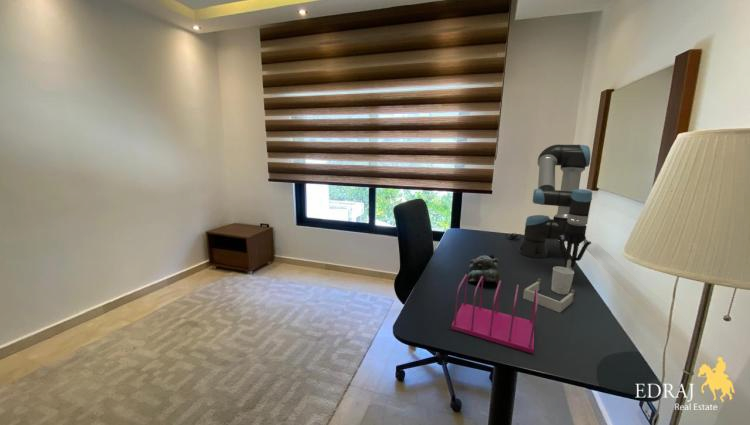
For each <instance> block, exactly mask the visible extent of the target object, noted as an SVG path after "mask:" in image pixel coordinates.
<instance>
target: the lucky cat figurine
mask: <svg viewBox="0 0 750 425" xmlns="http://www.w3.org/2000/svg"><path fill="white" fill-rule="evenodd" d="M499 263H500V262H499V259H498V258H495V256H494V254H490V255H476V256H475V258H473V259H471V260H469V272H468V273H467V274H468V282H469V283H471V282H472V283H473V282H479V280H480V278H481V276H483V282H486V283H487V282H489V283H495V284H496V283H499V281H500V274H499ZM481 282H482V280H481Z"/></svg>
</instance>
